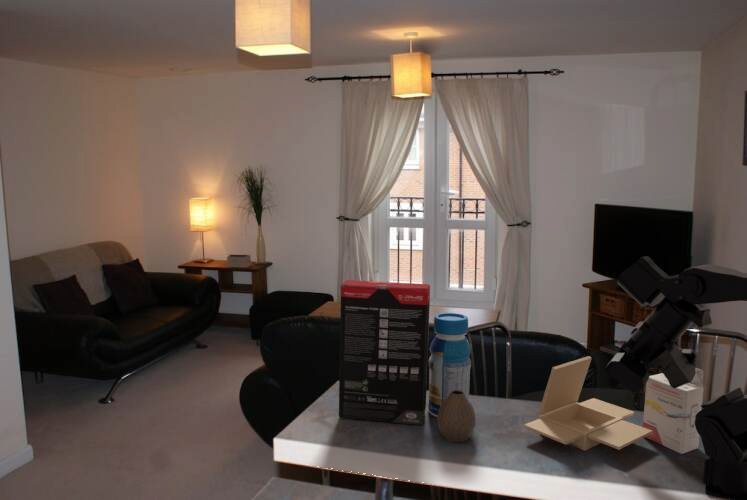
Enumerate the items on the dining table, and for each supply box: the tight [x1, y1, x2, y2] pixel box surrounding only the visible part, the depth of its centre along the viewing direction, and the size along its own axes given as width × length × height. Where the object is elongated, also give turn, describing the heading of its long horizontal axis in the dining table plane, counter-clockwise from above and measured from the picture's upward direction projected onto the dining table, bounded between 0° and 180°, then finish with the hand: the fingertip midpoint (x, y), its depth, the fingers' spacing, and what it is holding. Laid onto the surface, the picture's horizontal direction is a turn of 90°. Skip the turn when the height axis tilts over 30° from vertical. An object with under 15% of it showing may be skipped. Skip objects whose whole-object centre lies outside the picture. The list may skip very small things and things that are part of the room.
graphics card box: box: [338, 279, 431, 426], centre depth 124 cm, size 17×7×27 cm, turn 82°
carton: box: [523, 397, 652, 452], centre depth 117 cm, size 16×22×3 cm
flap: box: [538, 355, 593, 416], centre depth 122 cm, size 1×12×10 cm, turn 129°
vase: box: [437, 390, 476, 443], centre depth 116 cm, size 7×7×9 cm
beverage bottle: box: [427, 312, 472, 419], centre depth 127 cm, size 8×8×20 cm
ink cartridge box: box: [642, 367, 704, 455], centre depth 115 cm, size 9×5×15 cm, turn 29°
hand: (611, 385), depth 114 cm, fingers closed
